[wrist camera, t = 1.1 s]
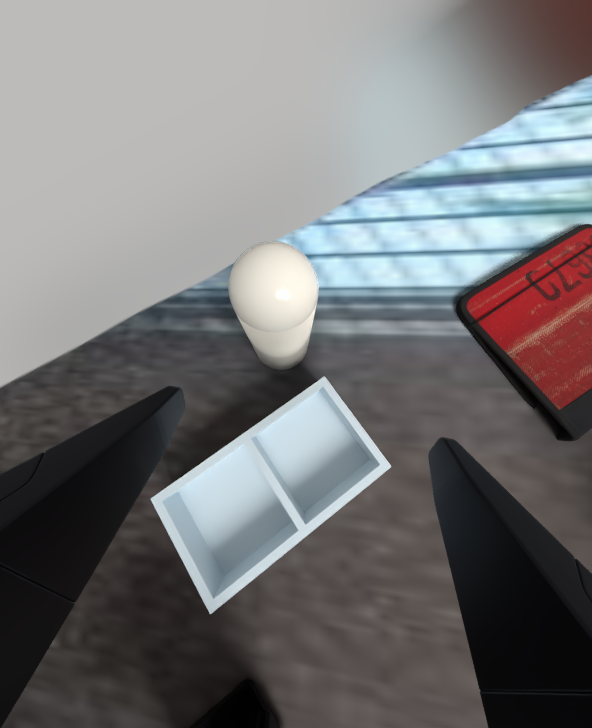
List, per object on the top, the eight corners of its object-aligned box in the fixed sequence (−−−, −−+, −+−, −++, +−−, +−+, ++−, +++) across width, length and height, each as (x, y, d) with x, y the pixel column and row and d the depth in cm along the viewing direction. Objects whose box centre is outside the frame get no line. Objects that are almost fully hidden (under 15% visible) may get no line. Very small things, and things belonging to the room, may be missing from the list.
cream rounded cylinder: (274, 380, 23) (254, 332, 11) (244, 338, 24) (196, 250, 12) (318, 350, 24) (345, 274, 12) (288, 310, 25) (284, 201, 13)
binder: (733, 324, 23) (581, 443, 20) (694, 333, 25) (553, 442, 23) (597, 212, 27) (453, 299, 24) (574, 228, 29) (440, 311, 26)
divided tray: (224, 580, 19) (210, 614, 16) (173, 486, 21) (150, 498, 17) (375, 459, 22) (391, 466, 18) (319, 383, 23) (324, 376, 20)
